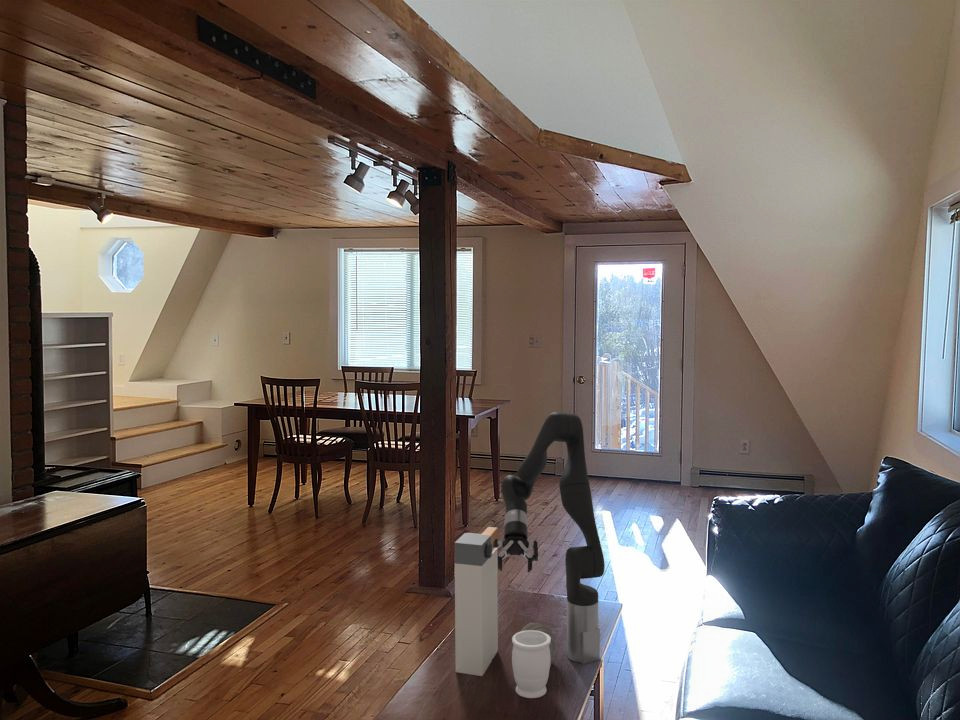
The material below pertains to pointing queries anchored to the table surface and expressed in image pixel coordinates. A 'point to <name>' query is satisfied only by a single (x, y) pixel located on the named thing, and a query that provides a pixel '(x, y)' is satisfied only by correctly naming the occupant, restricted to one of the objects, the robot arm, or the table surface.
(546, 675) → the jar
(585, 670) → the table surface
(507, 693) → the table surface
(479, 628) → the pedestal
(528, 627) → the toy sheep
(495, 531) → the tan piece
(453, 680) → the table surface
